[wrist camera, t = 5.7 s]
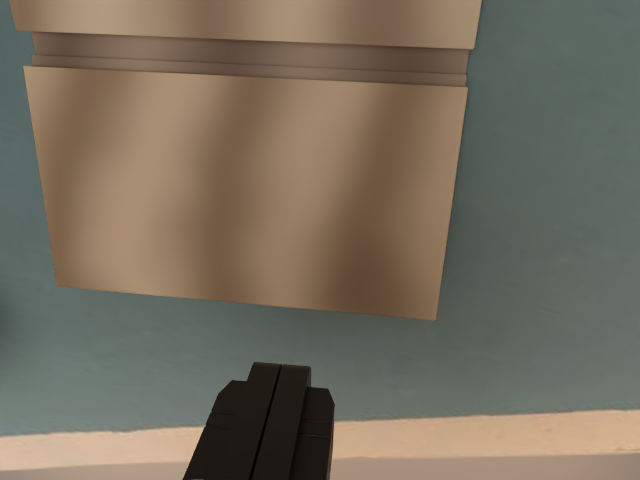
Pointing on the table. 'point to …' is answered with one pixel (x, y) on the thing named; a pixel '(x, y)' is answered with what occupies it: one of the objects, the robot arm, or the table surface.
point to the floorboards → (259, 32)
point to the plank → (248, 181)
